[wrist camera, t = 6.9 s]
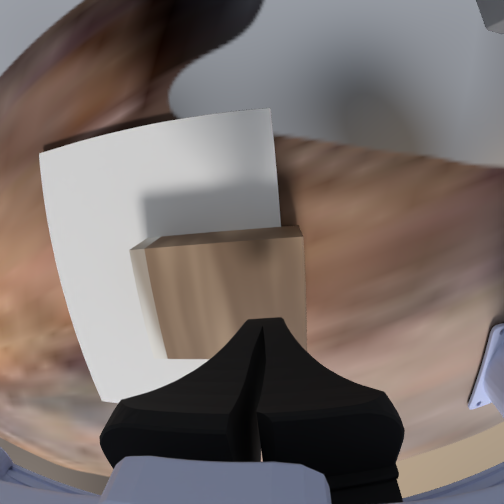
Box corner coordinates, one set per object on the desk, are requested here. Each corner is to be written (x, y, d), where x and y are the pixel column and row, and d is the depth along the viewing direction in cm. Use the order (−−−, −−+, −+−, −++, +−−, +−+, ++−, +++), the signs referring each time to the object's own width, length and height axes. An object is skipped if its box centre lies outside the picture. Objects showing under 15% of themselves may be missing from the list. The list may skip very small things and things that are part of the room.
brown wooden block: (303, 236, 14) (129, 250, 14) (307, 354, 15) (153, 358, 16) (298, 225, 16) (147, 237, 17) (303, 330, 18) (166, 335, 18)
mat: (270, 109, 15) (270, 107, 15) (290, 402, 20) (290, 407, 19) (43, 153, 16) (39, 153, 16) (104, 397, 21) (102, 401, 21)
